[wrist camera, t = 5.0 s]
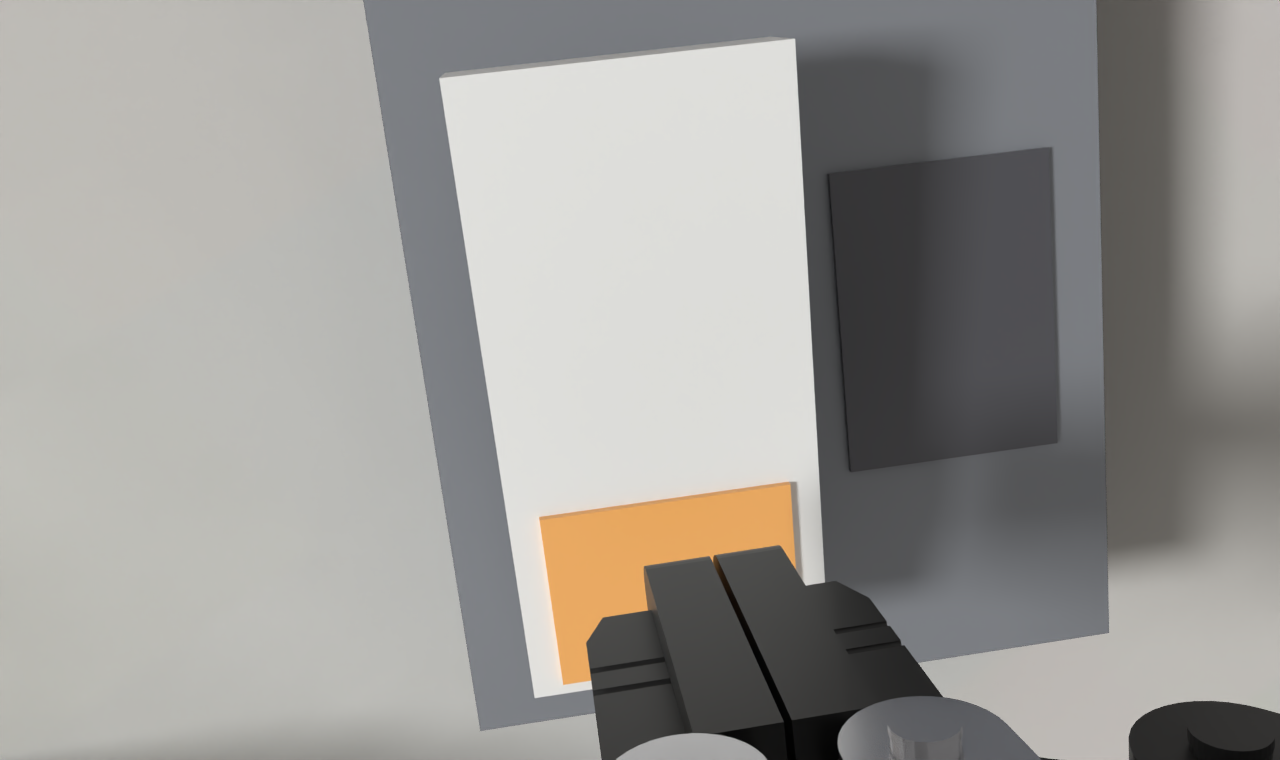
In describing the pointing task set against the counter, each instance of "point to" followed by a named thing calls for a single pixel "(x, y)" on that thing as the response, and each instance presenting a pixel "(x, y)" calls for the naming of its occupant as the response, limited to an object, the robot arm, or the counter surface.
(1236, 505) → the counter surface
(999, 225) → the power strip
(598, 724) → the robot arm
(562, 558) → the rocker outer
